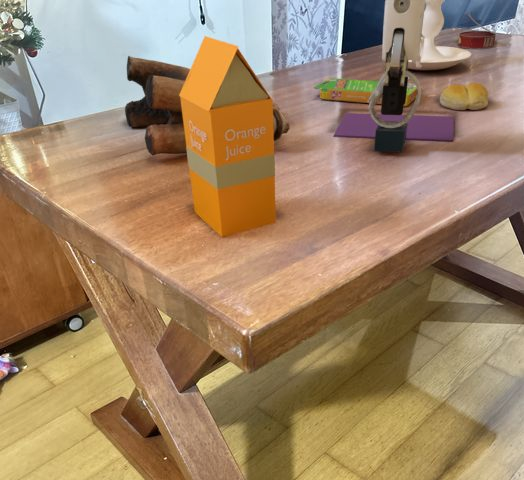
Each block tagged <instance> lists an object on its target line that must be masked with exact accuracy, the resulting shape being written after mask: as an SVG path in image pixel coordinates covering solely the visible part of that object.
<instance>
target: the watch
mask: <svg viewBox="0 0 524 480" xmlns="http://www.w3.org/2000/svg"><path fill="white" fill-rule="evenodd" d="M401 70H402V69H401ZM385 76H386V71H385V72H384V73H383V74H382V75H381V77H380V79H379V80H378V81H379V82H378V84H377V86H376V87H375V89H374V90H373V92H372V94H371V95H370V97H369V99H368V101H367V102H368V103H367V104H368V112H369V114H371V117H372V118H373V120H374V121H375V122H376V123H377V124H379V125H378V127H377V129H376V134H375V138H374V146H373V151H374V152H386V153H387V152H389V153H403V151H404V147H405V144H406V141H407V140H406V132H407V124H408V121H409V120H410V119H411V118H412V116H413V115H415V113H416V111H417V110H418V108H419V105H420V103H421V100H422V85H421V83H420V80H419V79H418V77H417V76H416V75H415V74H414V73H412V72H411V71H407V70H406V73H405V77H408V80H411V81H412V82H413V84H415V85H416V87H417V90H418V93H417V96H416V98H415V99H414V102H413V104H412V106H411V108H410V109H409V111H408V112H407V113H406V114H404V115H405V116H404V119H403V120H402V121H399V122H398V121H384V120H382V119H381V118H380V117H379V116H377V114H378V113H377V112H376V110H375V108H374V107H375V106H376V105H378V104H377V102H378V101H379V99H380V98H381V96H382V94H383V85H385Z"/></svg>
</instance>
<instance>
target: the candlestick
mask: <svg viewBox="0 0 524 480" xmlns="http://www.w3.org/2000/svg"><path fill="white" fill-rule="evenodd" d="M445 1H446V0H425V9H424V18H423V26H422V34H421V42H420V50H419V56H418V59H417V61H416V62H415V63H414V64H412V60H409V62H408V70H415V71H438V70H444V69H449V68H452V67H454V66H456V65H458V64H460V63H462V61H464V60H466V59H469V58H470V57H471V56H472V53H471V51H469V50H467V49H465V48H460V47H453V46H443V45H435V37H437V36H438V35H439V34H440V33H441V31H442V29H443V28H444V24H445V16H444V14H443V11H442V5H443V3H444V2H445Z"/></svg>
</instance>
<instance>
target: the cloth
mask: <svg viewBox="0 0 524 480" xmlns="http://www.w3.org/2000/svg"><path fill="white" fill-rule="evenodd" d="M376 114H377V116H379V117H380V118H381V119H382V120H384V121H398V122H399V121H402V120H403V119H404V116H405V115H406V114H402V115H382V114H381V113H376ZM454 121H455V120H454V116H452V115H451V116H449V115H419V114H414V115H413V116H412V118H411V119H410V120H409V121H408V124H407V132H406V141H425V142H427V141H428V142H429V141H430V142H454ZM378 125H379V124H377V123H376V122H375V121H374V120H373V118H372V117H371V114H370V113H354V112H353V113H352V112H351V113H350V112H345V114H344V116H343V117H342V119H341V121H340V123H339V125H338V127H337V128H336V130H335V132H334V133H333V137H334V138H355V139H375V134H376V129H377V127H378Z"/></svg>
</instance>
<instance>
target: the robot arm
mask: <svg viewBox="0 0 524 480" xmlns="http://www.w3.org/2000/svg"><path fill="white" fill-rule="evenodd" d="M425 9H426V3H425V0H384V13H383V26H382V27H383V28H382V49H381V50H382V51H381V60H382V62H383V63H384V64H386V67H385V72H386V76H385V85H383V94H382V104H380V105H381V106H380V114H382V115H403V112H404V107H405V106H404V104H405V101H406V93H407V84H408V83H409V77H406V76H405V73H406V70H407V71H408V70H409V69H408V62H409V60H412V64H414V63H415V62H416V61H417V59H418V56H419V50H420V42H421V37H422V26H423V18H424V11H425ZM401 69H402V70H401Z"/></svg>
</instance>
